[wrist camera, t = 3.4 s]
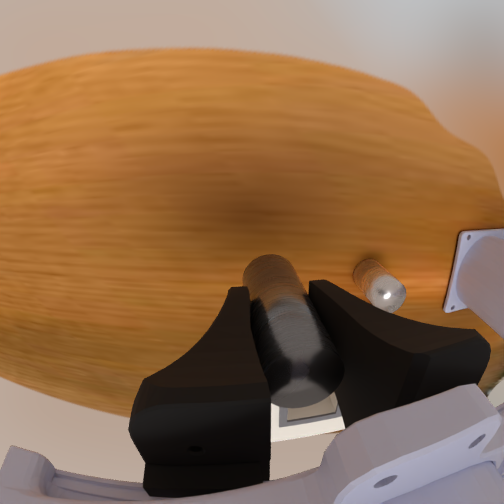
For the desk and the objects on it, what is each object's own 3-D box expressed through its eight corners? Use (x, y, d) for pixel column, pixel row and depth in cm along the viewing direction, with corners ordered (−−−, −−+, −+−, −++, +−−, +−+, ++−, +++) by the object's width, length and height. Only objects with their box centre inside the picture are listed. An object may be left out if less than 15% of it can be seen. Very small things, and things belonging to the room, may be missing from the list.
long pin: (295, 252, 14) (350, 342, 8) (294, 299, 15) (338, 401, 9) (241, 256, 14) (260, 354, 8) (244, 304, 14) (261, 412, 8)
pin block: (373, 305, 24) (399, 338, 20) (356, 389, 28) (372, 423, 23) (224, 322, 23) (226, 364, 19) (234, 407, 27) (238, 447, 22)
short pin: (382, 257, 22) (408, 280, 19) (378, 285, 23) (402, 311, 20) (354, 260, 22) (378, 284, 19) (351, 288, 23) (373, 316, 19)
